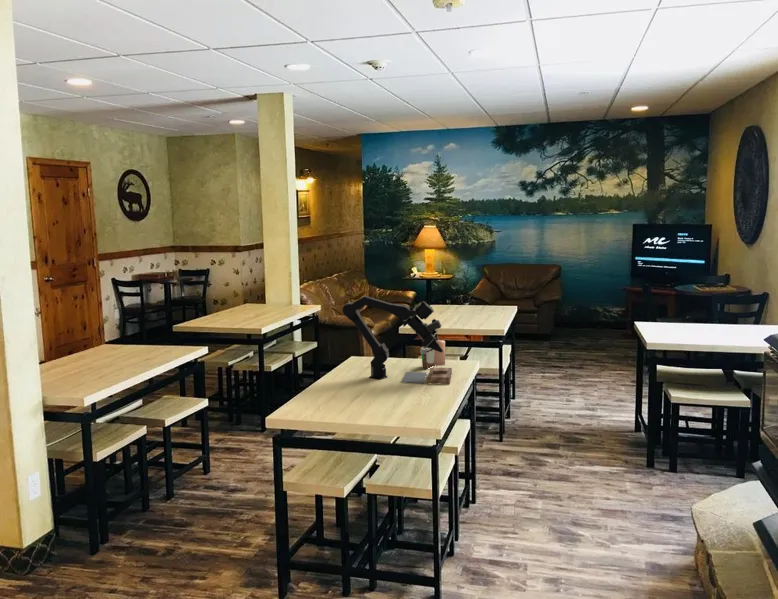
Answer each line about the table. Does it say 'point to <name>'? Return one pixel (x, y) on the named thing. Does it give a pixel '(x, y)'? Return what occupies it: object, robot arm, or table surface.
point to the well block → (439, 375)
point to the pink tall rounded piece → (440, 354)
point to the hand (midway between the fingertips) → (442, 350)
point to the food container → (427, 357)
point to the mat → (414, 377)
